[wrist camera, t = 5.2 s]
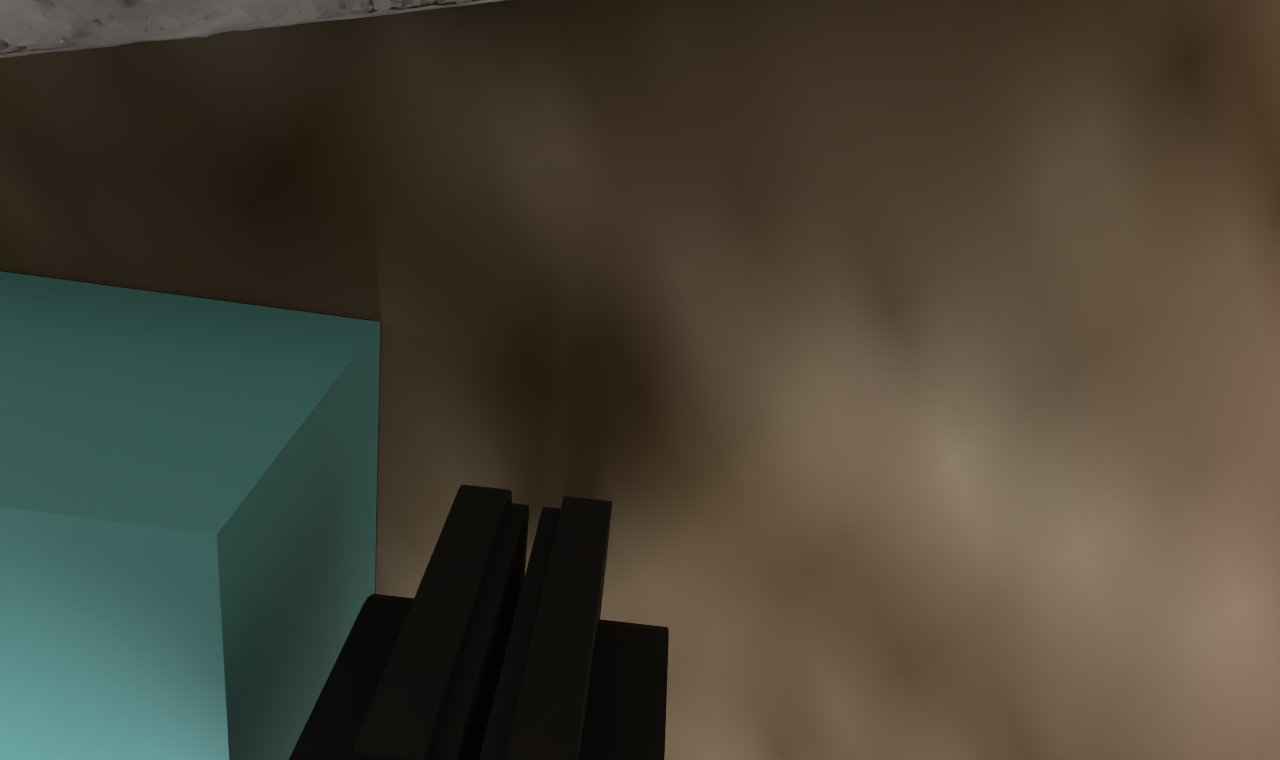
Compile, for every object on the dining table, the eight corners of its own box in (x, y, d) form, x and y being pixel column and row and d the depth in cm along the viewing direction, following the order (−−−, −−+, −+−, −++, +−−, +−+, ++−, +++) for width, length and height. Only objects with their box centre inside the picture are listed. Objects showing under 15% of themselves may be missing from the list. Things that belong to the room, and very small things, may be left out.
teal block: (380, 321, 12) (216, 535, 8) (373, 662, 14) (241, 970, 10) (-51, 264, 12) (-439, 448, 8) (7, 613, 14) (-279, 904, 10)
